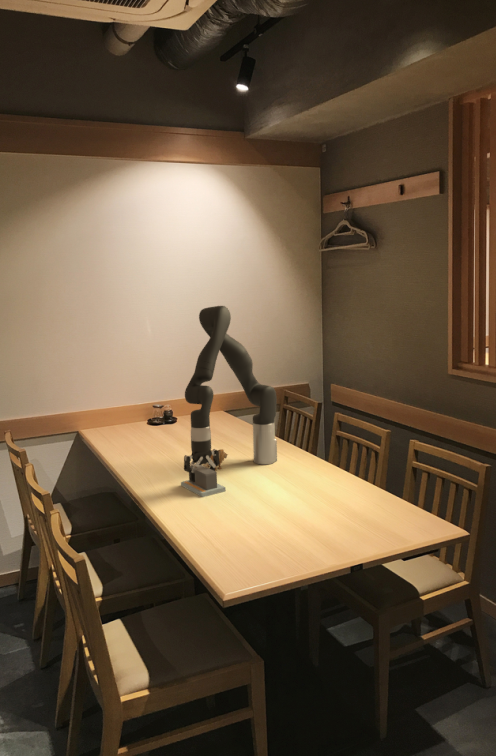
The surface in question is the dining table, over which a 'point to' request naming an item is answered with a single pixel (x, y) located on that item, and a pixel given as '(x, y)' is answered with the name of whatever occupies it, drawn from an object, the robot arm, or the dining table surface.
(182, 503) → the dining table surface
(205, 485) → the block
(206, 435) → the robot arm
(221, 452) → the lion figurine
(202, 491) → the board
